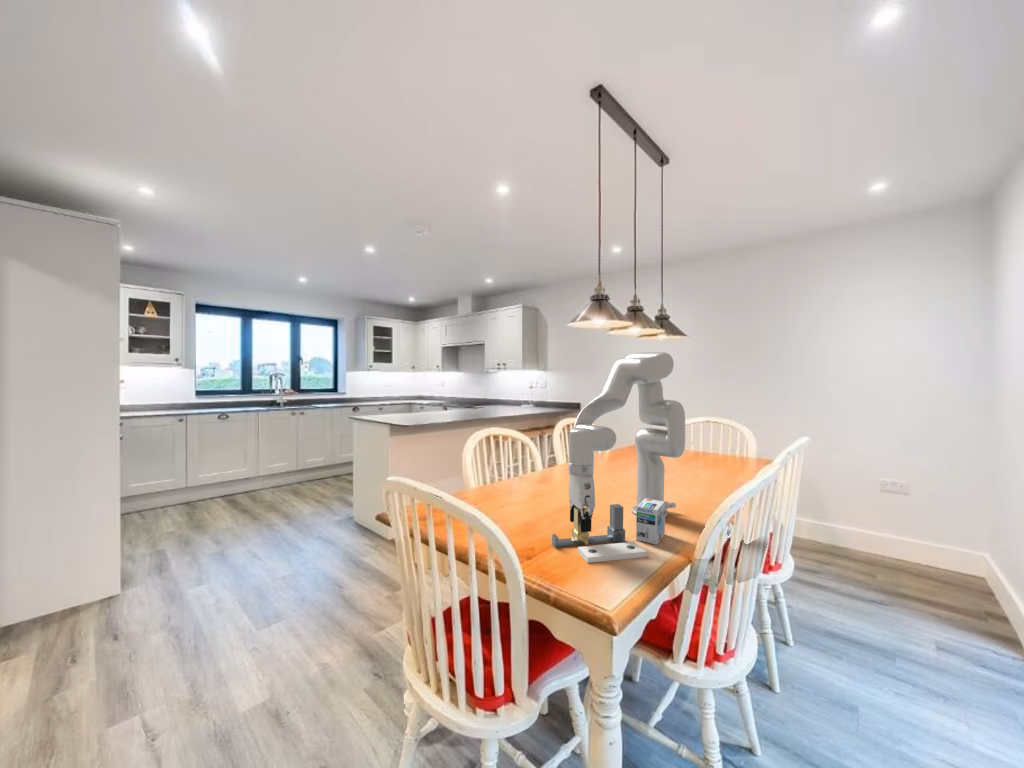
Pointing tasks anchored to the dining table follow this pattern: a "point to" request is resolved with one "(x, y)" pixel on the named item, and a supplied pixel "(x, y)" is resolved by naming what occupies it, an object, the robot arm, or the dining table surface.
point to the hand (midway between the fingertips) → (580, 526)
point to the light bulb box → (650, 521)
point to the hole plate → (611, 552)
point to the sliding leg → (577, 524)
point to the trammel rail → (613, 535)
